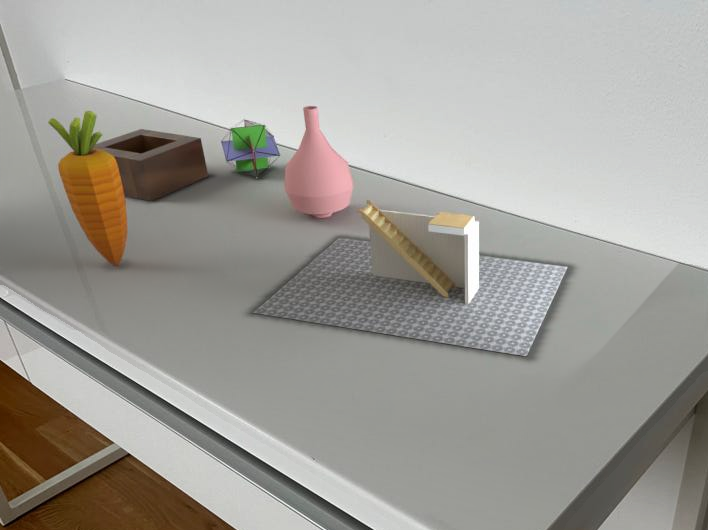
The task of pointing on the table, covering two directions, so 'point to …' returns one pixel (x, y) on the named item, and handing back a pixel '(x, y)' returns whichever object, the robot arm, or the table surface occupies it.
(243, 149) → the geometric puzzle
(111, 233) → the carrot
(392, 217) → the model
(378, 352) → the table surface
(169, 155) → the hole block
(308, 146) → the pink vase
